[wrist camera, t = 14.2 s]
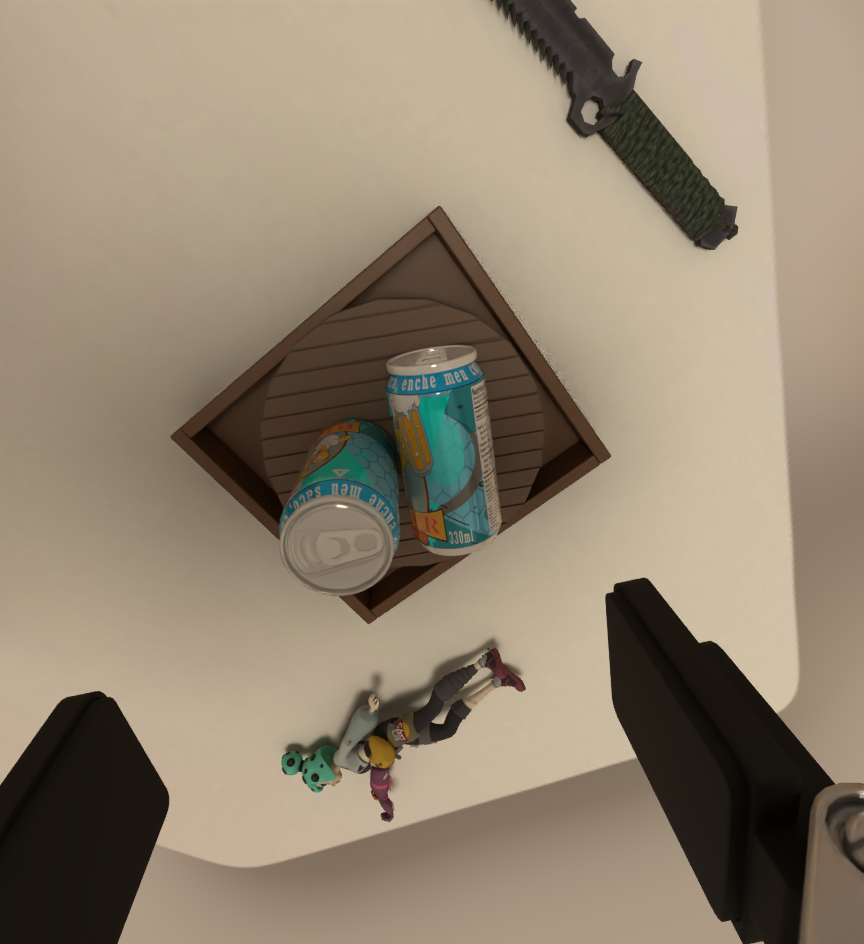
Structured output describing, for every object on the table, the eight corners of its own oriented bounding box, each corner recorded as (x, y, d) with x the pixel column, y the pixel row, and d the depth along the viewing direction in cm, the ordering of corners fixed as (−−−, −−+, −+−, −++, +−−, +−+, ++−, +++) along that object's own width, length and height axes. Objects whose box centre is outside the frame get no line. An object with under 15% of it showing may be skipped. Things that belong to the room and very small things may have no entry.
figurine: (374, 837, 33) (369, 779, 36) (553, 714, 29) (531, 659, 32) (275, 818, 30) (278, 754, 32) (463, 674, 25) (447, 615, 28)
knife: (764, 209, 22) (707, 270, 22) (751, 211, 22) (696, 269, 23) (428, -211, 16) (368, -113, 17) (427, -190, 17) (369, -98, 18)
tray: (370, 594, 29) (368, 624, 26) (190, 419, 24) (169, 437, 22) (592, 438, 26) (612, 456, 24) (435, 209, 22) (439, 204, 19)
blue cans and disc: (224, 324, 20) (129, 364, 13) (531, 271, 20) (608, 283, 13) (301, 582, 25) (264, 718, 18) (552, 539, 25) (617, 658, 18)
